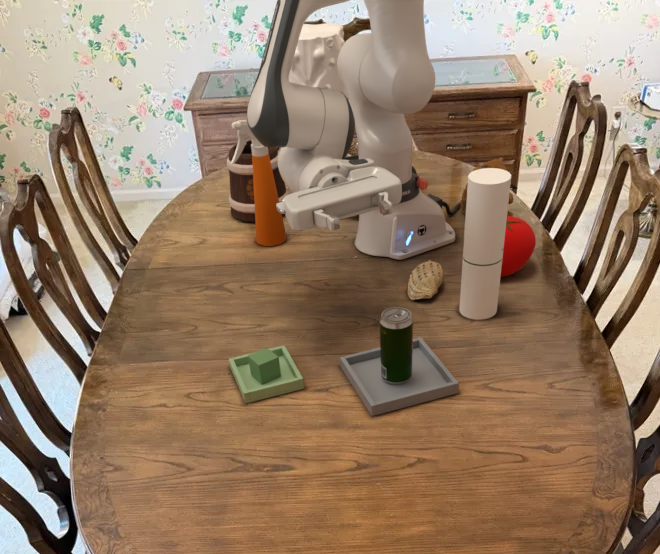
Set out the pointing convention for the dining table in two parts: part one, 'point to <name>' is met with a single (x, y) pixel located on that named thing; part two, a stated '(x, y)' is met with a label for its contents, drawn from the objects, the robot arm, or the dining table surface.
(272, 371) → the green block
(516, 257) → the tomato
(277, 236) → the spray bottle
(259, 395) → the sage tray
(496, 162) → the stuffed squirrel
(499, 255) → the cylindrical container
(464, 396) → the dining table surface
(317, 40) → the vase
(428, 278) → the seashell
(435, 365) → the steel tray
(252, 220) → the mug
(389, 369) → the beer can
